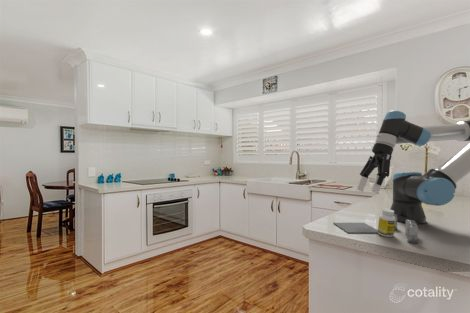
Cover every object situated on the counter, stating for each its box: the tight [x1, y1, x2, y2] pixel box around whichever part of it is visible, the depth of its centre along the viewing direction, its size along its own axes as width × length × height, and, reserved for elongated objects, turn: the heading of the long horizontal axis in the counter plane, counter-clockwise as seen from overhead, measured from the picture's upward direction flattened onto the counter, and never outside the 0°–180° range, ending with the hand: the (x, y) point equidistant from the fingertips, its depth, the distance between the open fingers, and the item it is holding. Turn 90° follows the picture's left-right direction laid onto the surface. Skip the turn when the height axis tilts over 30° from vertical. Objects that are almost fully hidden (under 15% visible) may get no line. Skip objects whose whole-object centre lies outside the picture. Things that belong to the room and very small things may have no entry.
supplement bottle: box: [377, 208, 396, 238], centre depth 97 cm, size 5×5×10 cm
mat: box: [333, 222, 380, 235], centre depth 107 cm, size 14×14×1 cm
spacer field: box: [393, 214, 419, 245], centre depth 98 cm, size 8×20×6 cm, turn 2°
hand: (366, 191), depth 106 cm, fingers open, 13 cm apart
